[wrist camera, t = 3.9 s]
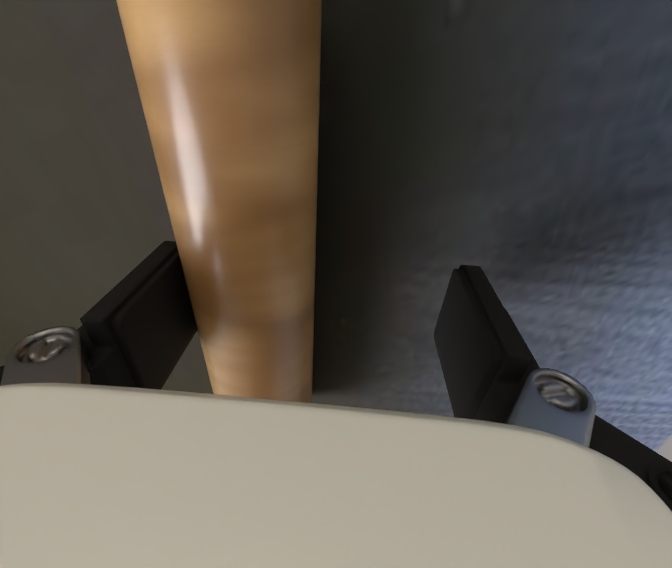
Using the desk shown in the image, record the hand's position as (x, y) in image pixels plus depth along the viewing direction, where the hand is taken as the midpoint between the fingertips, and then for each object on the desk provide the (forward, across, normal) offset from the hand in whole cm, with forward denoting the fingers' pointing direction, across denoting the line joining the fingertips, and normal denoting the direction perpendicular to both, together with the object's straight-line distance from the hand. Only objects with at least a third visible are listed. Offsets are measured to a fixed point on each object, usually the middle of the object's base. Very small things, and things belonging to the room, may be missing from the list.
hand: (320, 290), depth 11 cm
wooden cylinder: (0, 0, 0) cm, 0 cm away
